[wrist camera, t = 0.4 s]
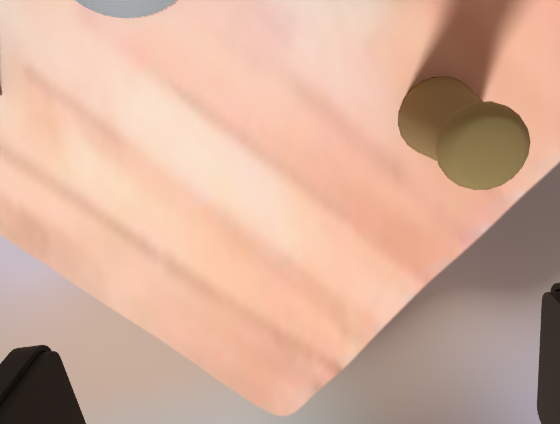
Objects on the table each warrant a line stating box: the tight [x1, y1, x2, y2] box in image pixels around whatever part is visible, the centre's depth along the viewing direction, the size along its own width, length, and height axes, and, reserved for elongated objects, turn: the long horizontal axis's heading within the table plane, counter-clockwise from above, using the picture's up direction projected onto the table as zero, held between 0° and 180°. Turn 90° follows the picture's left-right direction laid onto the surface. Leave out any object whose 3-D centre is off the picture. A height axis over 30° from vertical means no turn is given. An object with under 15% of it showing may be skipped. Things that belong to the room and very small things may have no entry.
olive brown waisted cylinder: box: [398, 77, 530, 190], centre depth 32 cm, size 6×6×11 cm
